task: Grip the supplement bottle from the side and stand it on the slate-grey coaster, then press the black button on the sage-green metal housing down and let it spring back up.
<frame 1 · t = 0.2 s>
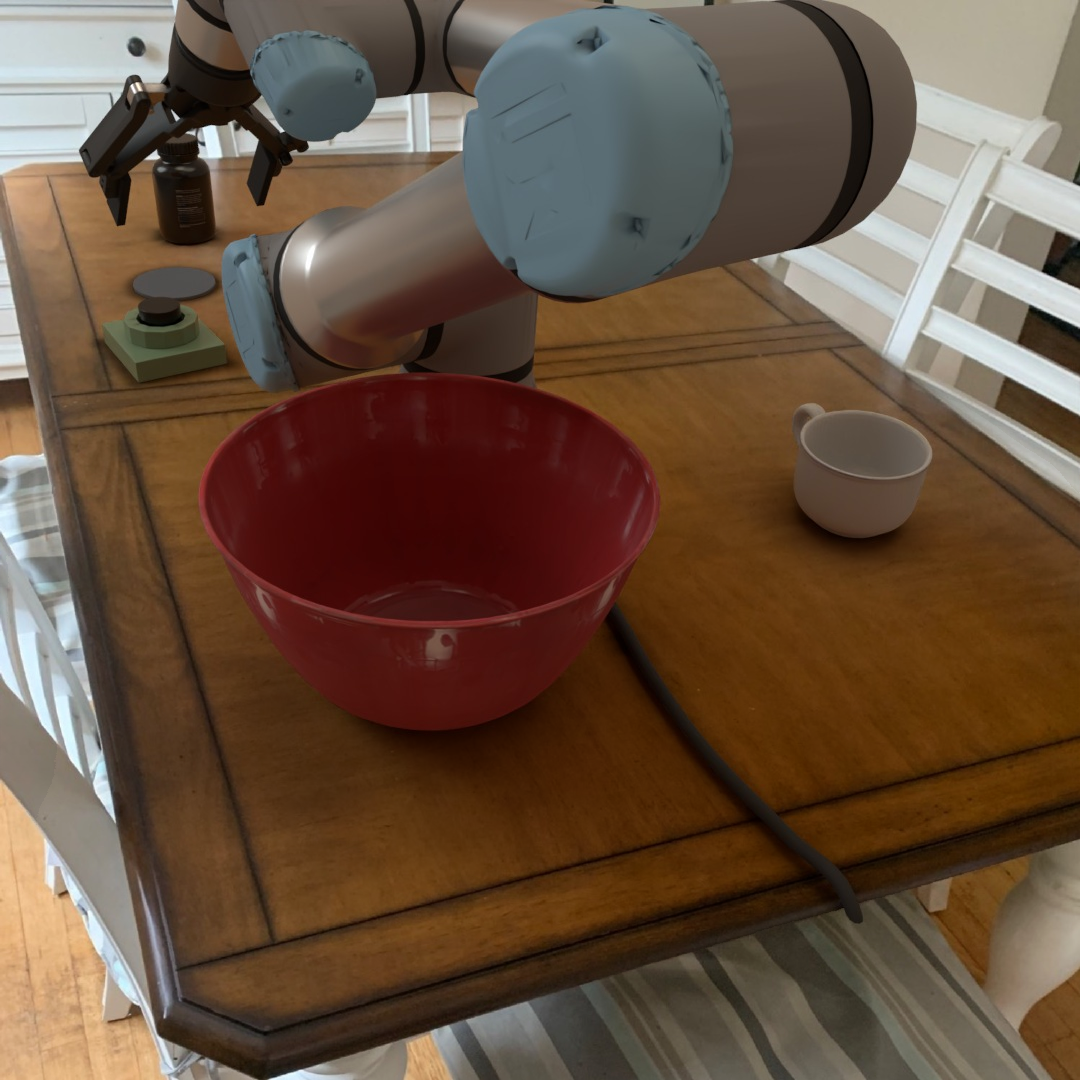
hand: (187, 203, 107), 15 cm above the table, tool tilted 35°, fingers open, 13 cm apart
supplement bottle: (188, 237, 141), on the table
button: (160, 312, 112), point 4 cm above the table, slide at 0.1 cm
button box: (165, 353, 115), on the table
coaster: (174, 285, 128), on the table
flower pot: (428, 344, 121), on the table
teacup: (835, 510, 100), on the table
mixing bowl: (430, 663, 79), on the table, touching arm
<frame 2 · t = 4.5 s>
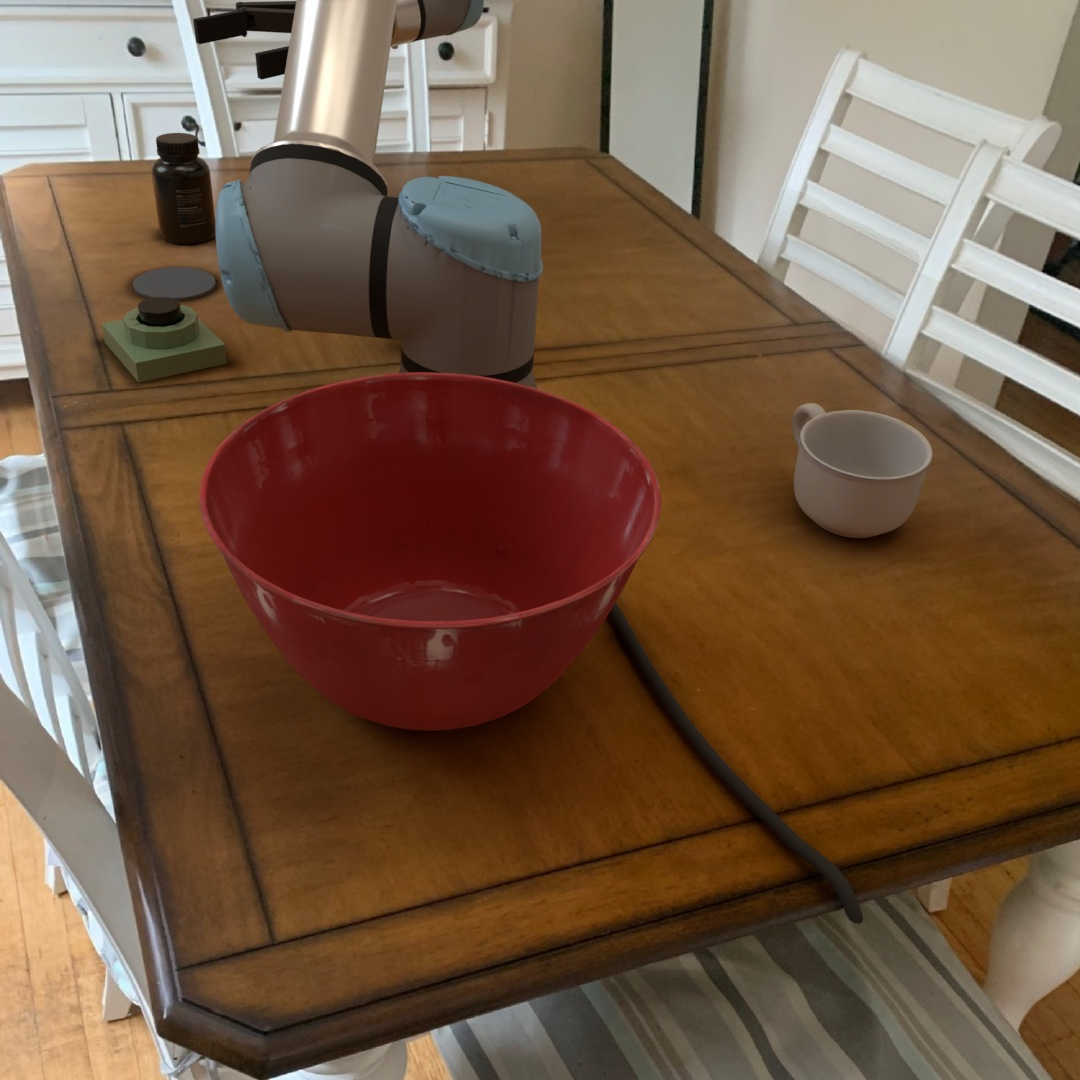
hand: (226, 48, 131), 22 cm above the table, tool horizontal, fingers open, 13 cm apart
mixing bowl: (430, 663, 79), on the table
everything else where it was.
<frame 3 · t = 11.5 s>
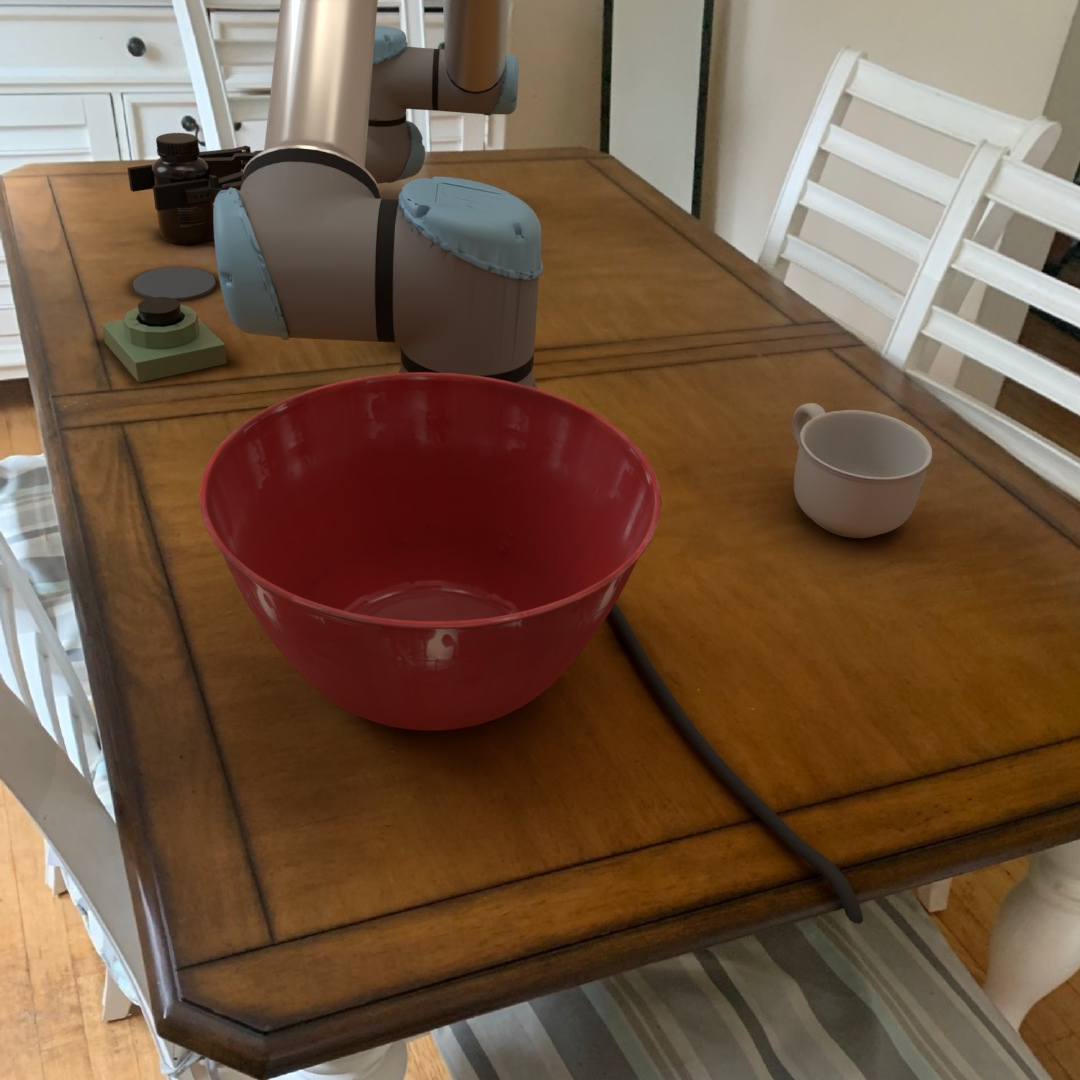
hand: (142, 188, 135), 7 cm above the table, tool horizontal, fingers closed on supplement bottle, 7 cm apart
supplement bottle: (188, 237, 141), on the table, touching gripper
everything else where it was.
when the fingers open (7 cm above the table, at t = 19.1 s): supplement bottle stays where it is, resting on coaster.
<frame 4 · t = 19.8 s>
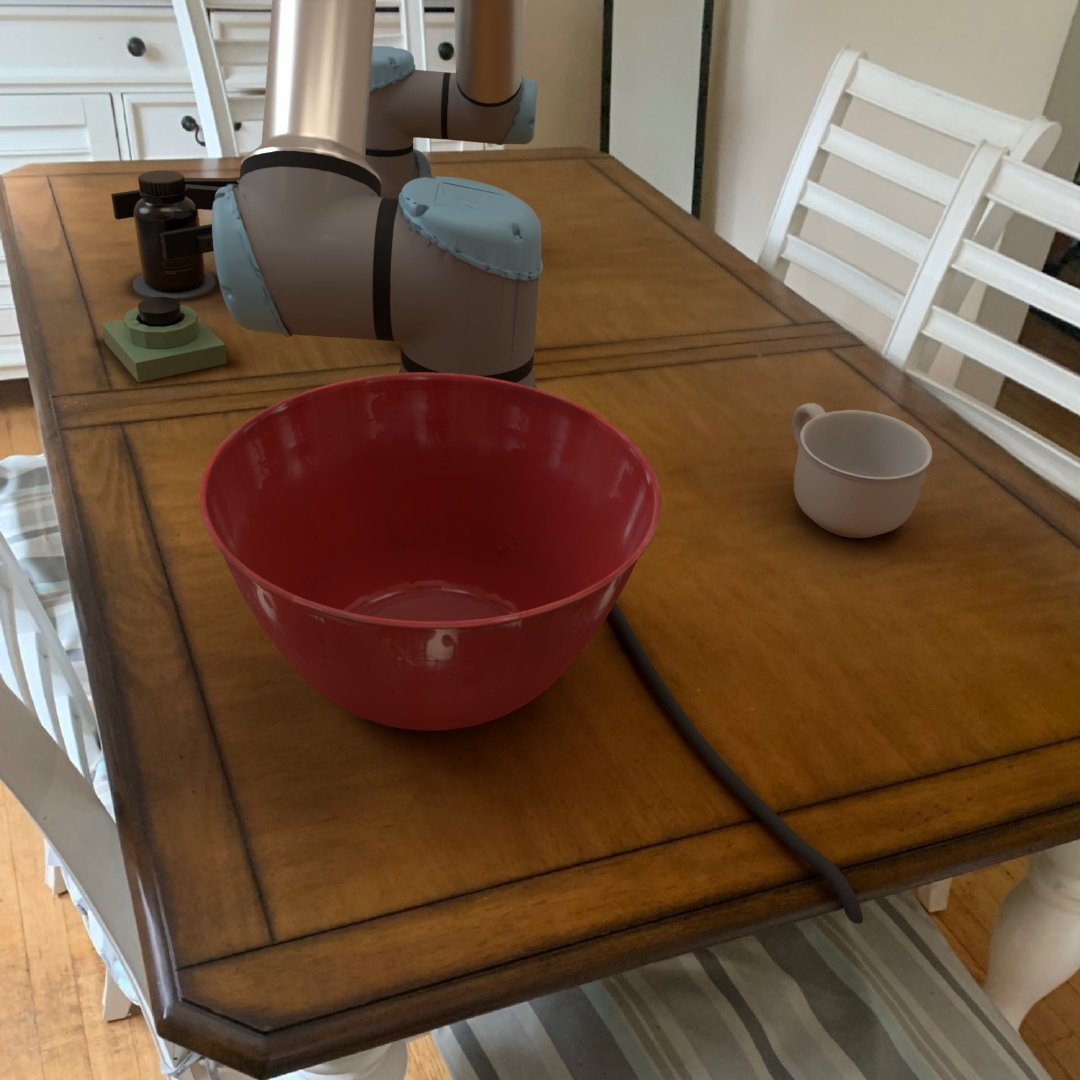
hand: (137, 225, 122), 7 cm above the table, tool horizontal, fingers open, 13 cm apart
supplement bottle: (175, 283, 128), resting on coaster
everything else where it was.
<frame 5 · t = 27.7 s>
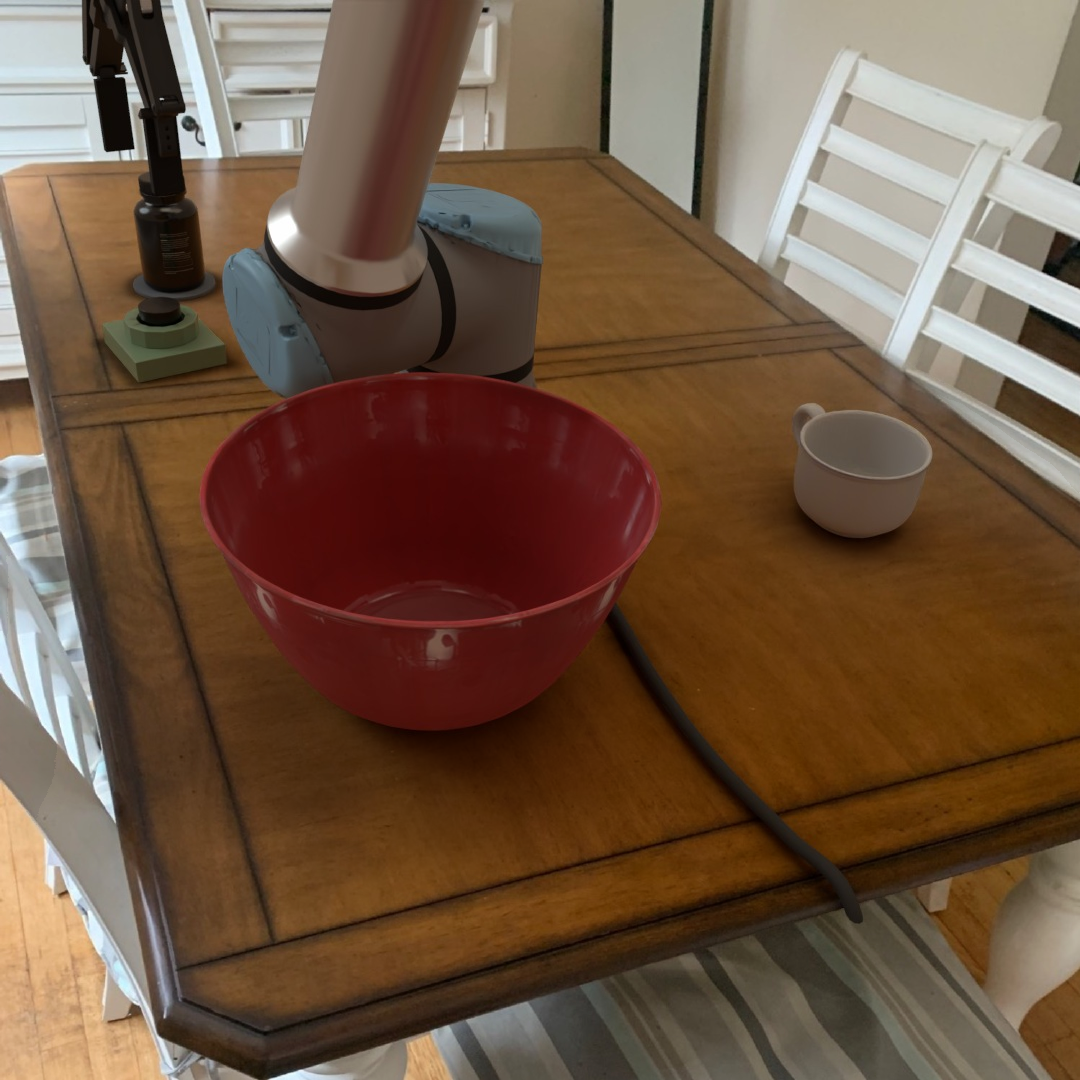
hand: (143, 170, 104), 18 cm above the table, tool pointing down, fingers open, 13 cm apart
nothing on the table moved.
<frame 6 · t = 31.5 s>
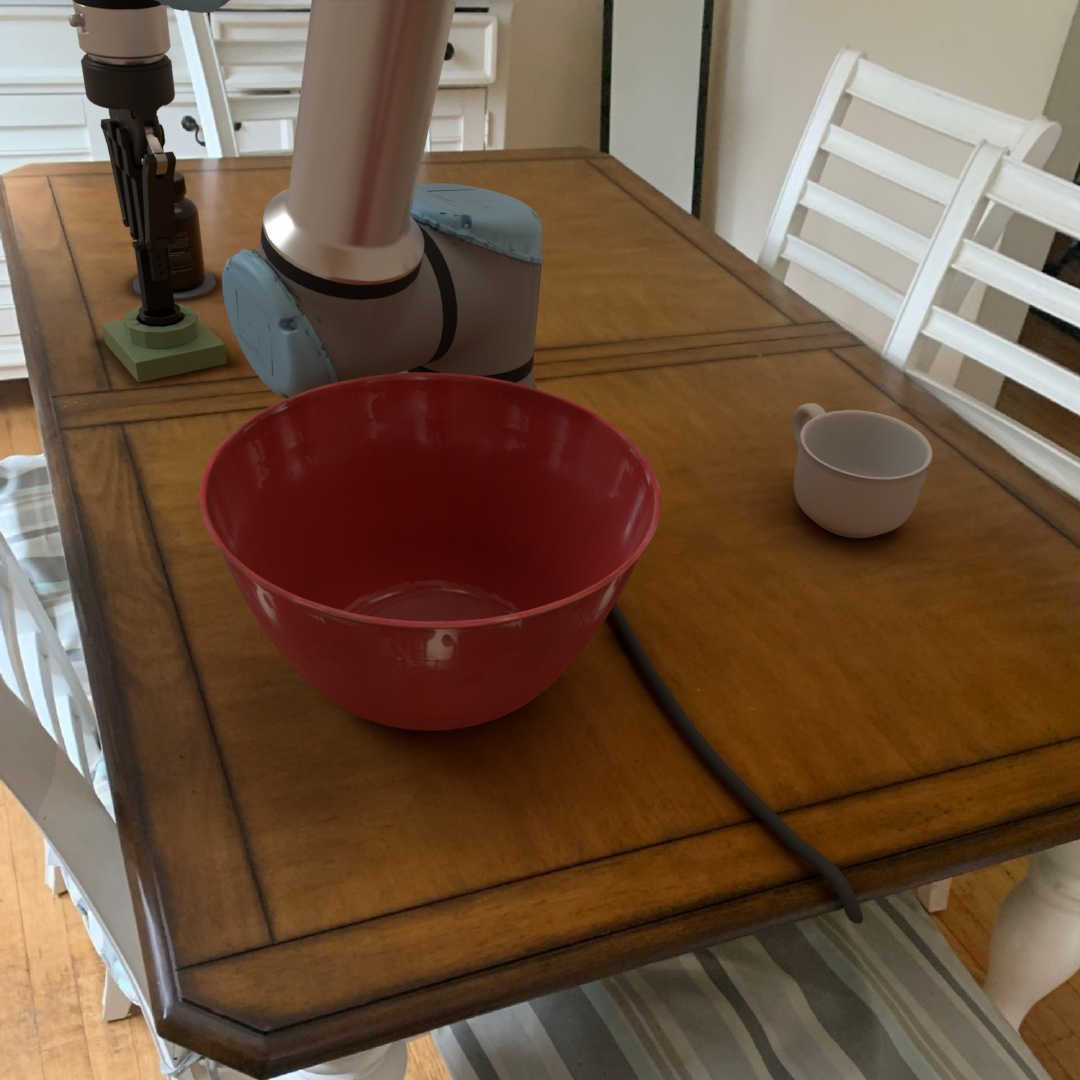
hand: (158, 306, 112), 5 cm above the table, tool pointing down, fingers closed
button: (160, 317, 112), point 4 cm above the table, slide at -0.4 cm, touching gripper
everything else where it was.
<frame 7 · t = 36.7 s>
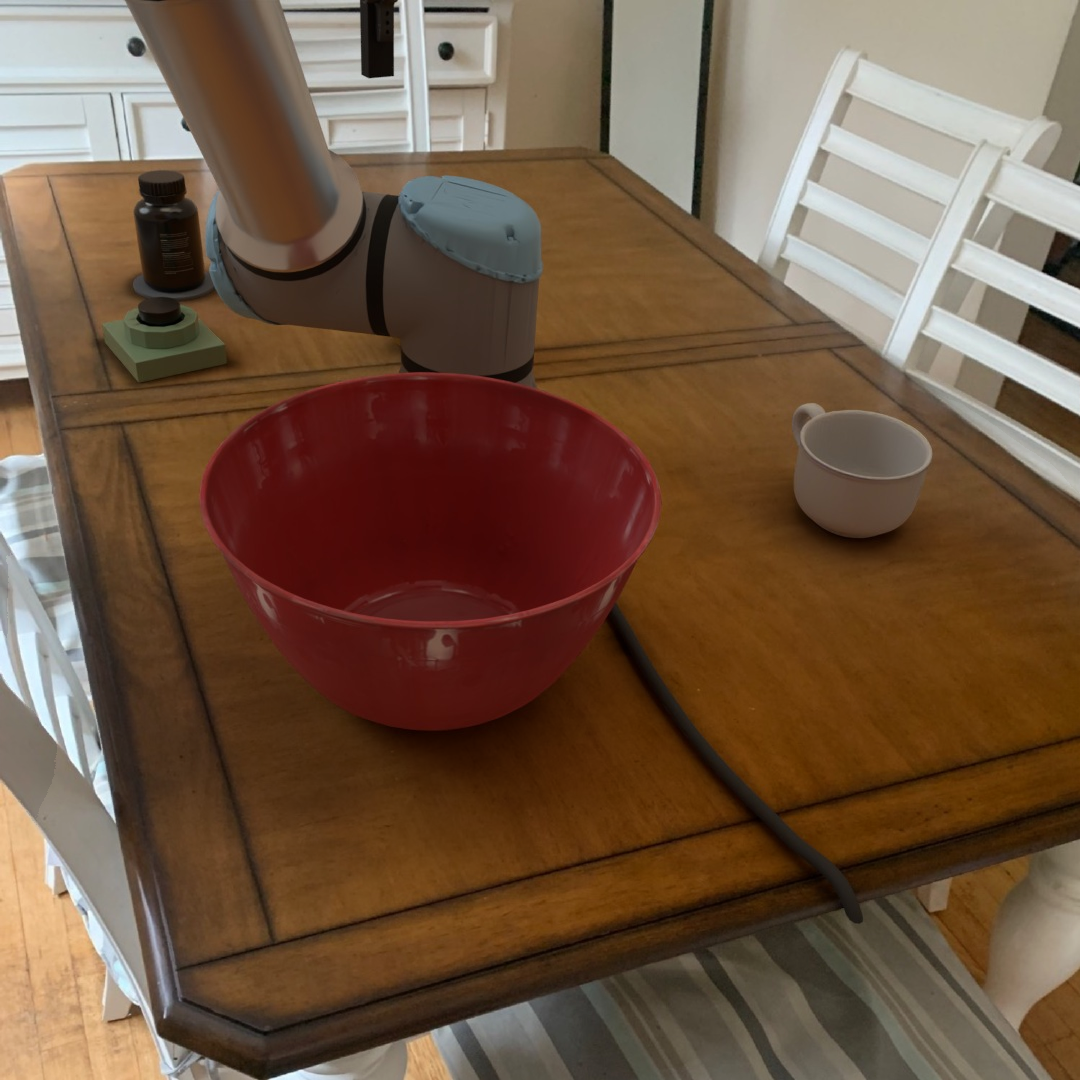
hand: (377, 75, 107), 26 cm above the table, tool pointing down, fingers closed
button: (160, 312, 112), point 4 cm above the table, slide at 0.1 cm
everything else where it was.
at the end: supplement bottle 0.1 cm off-centre on the coaster, point 0.2 cm above the coaster's base; button pushed in 1.0 cm at the most during the clip, back to where it started at the end; button slide at 0.1 cm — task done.
